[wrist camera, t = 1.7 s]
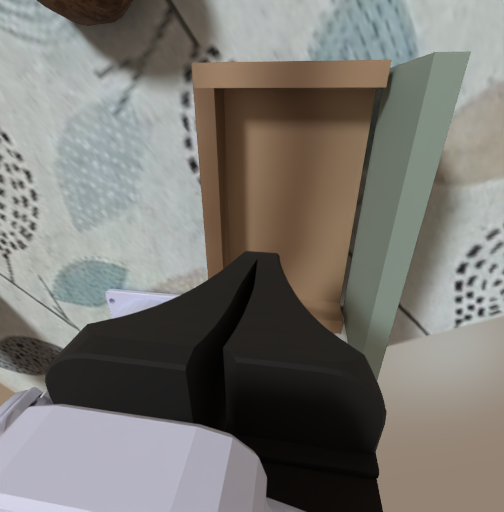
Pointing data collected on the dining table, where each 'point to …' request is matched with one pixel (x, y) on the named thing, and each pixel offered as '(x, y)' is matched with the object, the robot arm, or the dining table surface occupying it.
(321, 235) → the crate
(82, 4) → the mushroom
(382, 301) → the panel
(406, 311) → the dining table surface
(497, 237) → the dining table surface
